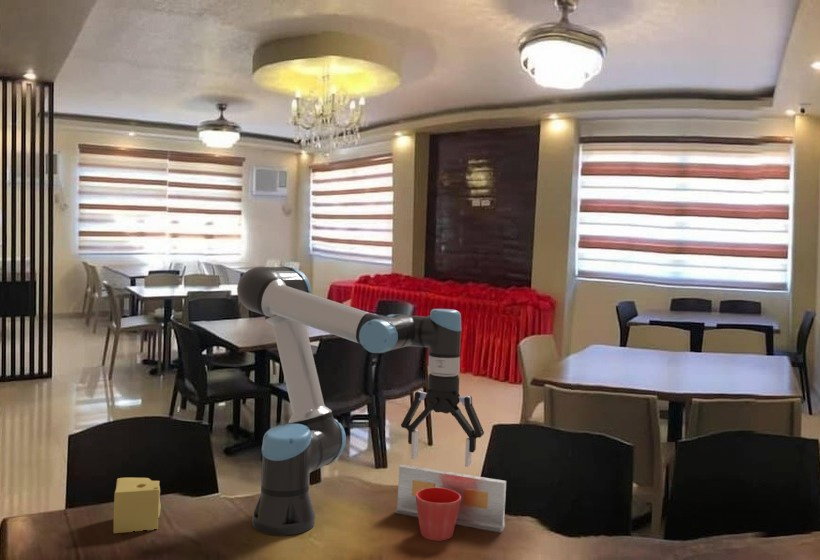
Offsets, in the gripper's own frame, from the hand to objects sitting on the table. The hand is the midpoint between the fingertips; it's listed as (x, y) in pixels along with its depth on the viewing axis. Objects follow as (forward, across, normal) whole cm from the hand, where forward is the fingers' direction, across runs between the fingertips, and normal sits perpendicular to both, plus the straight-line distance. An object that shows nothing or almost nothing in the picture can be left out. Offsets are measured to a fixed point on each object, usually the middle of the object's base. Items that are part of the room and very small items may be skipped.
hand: (440, 461), depth 163 cm
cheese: (+18, -67, -27) cm, 75 cm away
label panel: (+18, 0, +10) cm, 20 cm away
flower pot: (+18, 0, 0) cm, 18 cm away
